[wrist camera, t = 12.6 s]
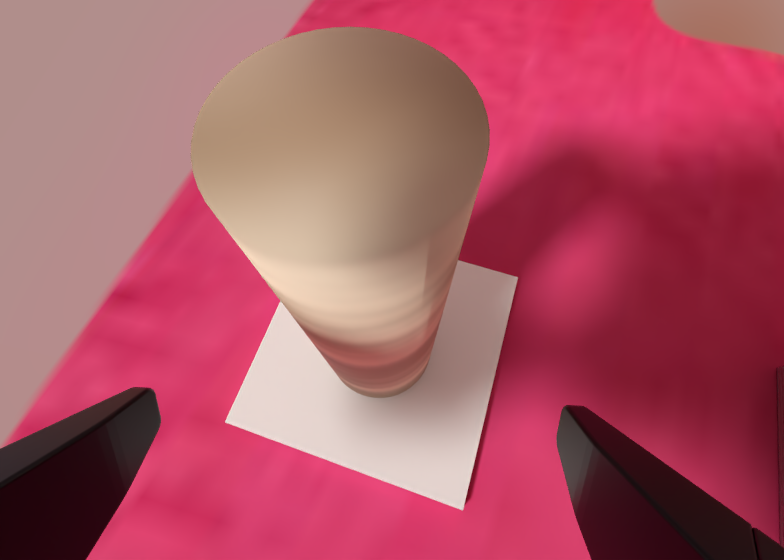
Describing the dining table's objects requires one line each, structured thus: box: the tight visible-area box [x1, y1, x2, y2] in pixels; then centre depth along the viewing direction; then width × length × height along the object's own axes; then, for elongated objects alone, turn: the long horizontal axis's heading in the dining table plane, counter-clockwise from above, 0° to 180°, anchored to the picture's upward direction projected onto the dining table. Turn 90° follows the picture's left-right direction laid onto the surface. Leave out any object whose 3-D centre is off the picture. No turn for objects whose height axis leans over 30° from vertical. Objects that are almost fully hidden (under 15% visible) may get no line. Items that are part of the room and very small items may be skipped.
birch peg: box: [191, 27, 490, 398], centre depth 12 cm, size 4×4×13 cm
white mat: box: [225, 260, 518, 510], centre depth 18 cm, size 10×10×1 cm
